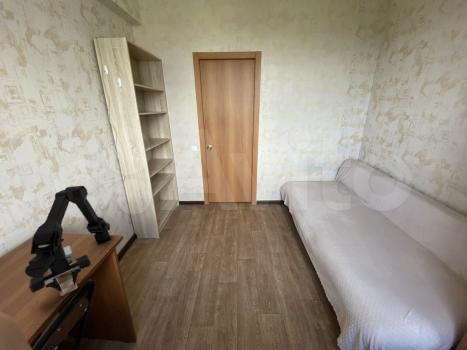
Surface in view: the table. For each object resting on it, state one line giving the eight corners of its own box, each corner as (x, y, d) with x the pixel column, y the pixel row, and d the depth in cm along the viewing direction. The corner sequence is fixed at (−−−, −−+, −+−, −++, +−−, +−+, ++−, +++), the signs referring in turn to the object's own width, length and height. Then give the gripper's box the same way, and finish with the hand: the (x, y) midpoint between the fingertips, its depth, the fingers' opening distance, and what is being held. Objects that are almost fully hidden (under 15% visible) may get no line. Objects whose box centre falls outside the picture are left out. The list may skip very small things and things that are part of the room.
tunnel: (74, 258, 104) (69, 245, 101) (77, 266, 98) (72, 252, 96) (48, 269, 97) (42, 256, 94) (50, 278, 92) (44, 264, 89)
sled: (70, 267, 97) (67, 257, 95) (78, 288, 86) (73, 277, 84) (56, 274, 94) (52, 263, 92) (61, 297, 82) (56, 285, 80)
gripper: (80, 238, 91) (89, 265, 96) (22, 260, 78) (37, 290, 84) (86, 249, 83) (95, 278, 89) (23, 275, 71) (39, 307, 76)
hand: (68, 287), depth 84 cm, fingers closed on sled, 4 cm apart
